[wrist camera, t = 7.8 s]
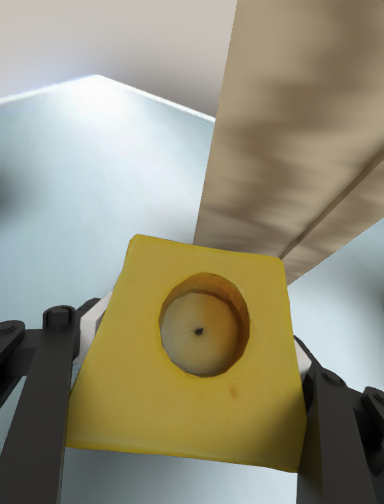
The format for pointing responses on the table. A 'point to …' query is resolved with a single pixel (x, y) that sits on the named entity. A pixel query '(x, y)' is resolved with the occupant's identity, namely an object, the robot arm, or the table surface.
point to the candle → (193, 360)
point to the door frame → (297, 132)
